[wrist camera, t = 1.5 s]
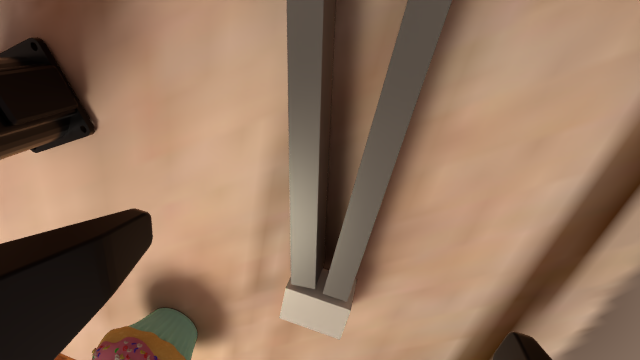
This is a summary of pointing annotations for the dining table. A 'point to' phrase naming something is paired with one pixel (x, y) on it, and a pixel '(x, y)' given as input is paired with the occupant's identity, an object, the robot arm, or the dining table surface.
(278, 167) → the dining table surface
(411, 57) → the tongs base
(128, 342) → the cupcake
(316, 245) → the arm
